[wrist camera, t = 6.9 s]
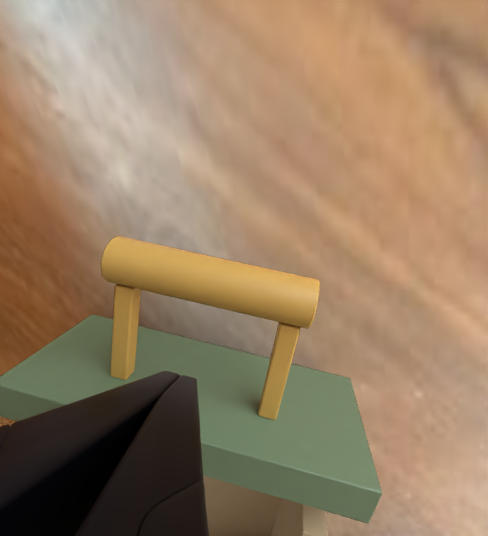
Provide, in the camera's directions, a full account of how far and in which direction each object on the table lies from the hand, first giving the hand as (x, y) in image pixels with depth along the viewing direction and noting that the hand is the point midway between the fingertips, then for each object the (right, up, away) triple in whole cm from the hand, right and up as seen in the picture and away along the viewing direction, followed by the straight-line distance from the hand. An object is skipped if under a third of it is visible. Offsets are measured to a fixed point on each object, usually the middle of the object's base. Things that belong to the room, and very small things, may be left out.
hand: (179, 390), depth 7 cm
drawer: (0, -4, +7) cm, 8 cm away
